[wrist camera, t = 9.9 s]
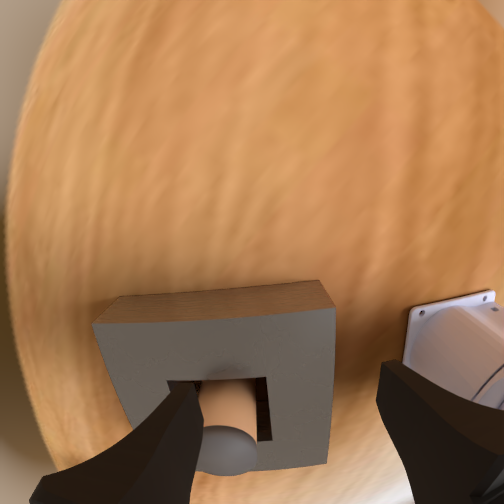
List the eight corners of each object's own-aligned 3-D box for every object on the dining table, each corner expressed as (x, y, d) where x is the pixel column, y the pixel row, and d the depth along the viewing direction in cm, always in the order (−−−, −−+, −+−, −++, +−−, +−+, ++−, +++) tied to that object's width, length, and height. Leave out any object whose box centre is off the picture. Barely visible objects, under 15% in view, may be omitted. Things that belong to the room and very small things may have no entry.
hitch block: (319, 279, 20) (335, 307, 15) (318, 426, 23) (326, 463, 18) (119, 296, 20) (91, 323, 16) (164, 432, 23) (153, 467, 19)
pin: (259, 361, 21) (262, 442, 13) (251, 400, 22) (251, 478, 14) (205, 354, 21) (186, 432, 13) (201, 393, 22) (186, 470, 14)
